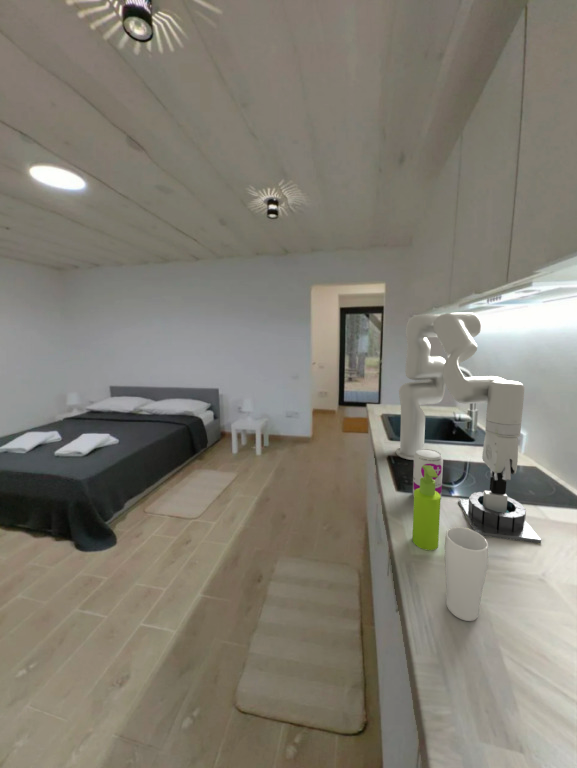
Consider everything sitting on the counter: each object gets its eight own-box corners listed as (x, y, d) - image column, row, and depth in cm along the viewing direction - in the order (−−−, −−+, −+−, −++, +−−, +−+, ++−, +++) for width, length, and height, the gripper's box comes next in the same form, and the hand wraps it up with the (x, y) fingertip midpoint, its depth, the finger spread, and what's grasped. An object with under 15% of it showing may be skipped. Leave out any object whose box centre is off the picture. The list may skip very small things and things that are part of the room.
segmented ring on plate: (458, 501, 92) (459, 486, 91) (511, 507, 88) (512, 491, 88) (476, 535, 77) (477, 517, 76) (540, 543, 73) (542, 524, 72)
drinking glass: (448, 624, 54) (453, 549, 51) (437, 592, 60) (440, 524, 58) (490, 629, 53) (496, 553, 50) (473, 596, 59) (478, 527, 57)
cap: (475, 507, 87) (477, 485, 86) (503, 511, 85) (505, 488, 84) (483, 522, 80) (484, 498, 79) (513, 526, 78) (516, 501, 77)
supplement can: (444, 506, 90) (446, 459, 88) (415, 503, 92) (417, 457, 89) (436, 492, 98) (439, 448, 96) (410, 490, 100) (411, 447, 97)
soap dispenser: (417, 552, 71) (420, 474, 68) (409, 533, 78) (412, 461, 75) (443, 554, 71) (447, 475, 68) (433, 535, 77) (437, 462, 74)
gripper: (476, 419, 87) (472, 478, 89) (497, 436, 72) (492, 506, 75) (506, 420, 85) (501, 480, 87) (534, 437, 70) (527, 509, 73)
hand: (497, 492), depth 81 cm, fingers closed
